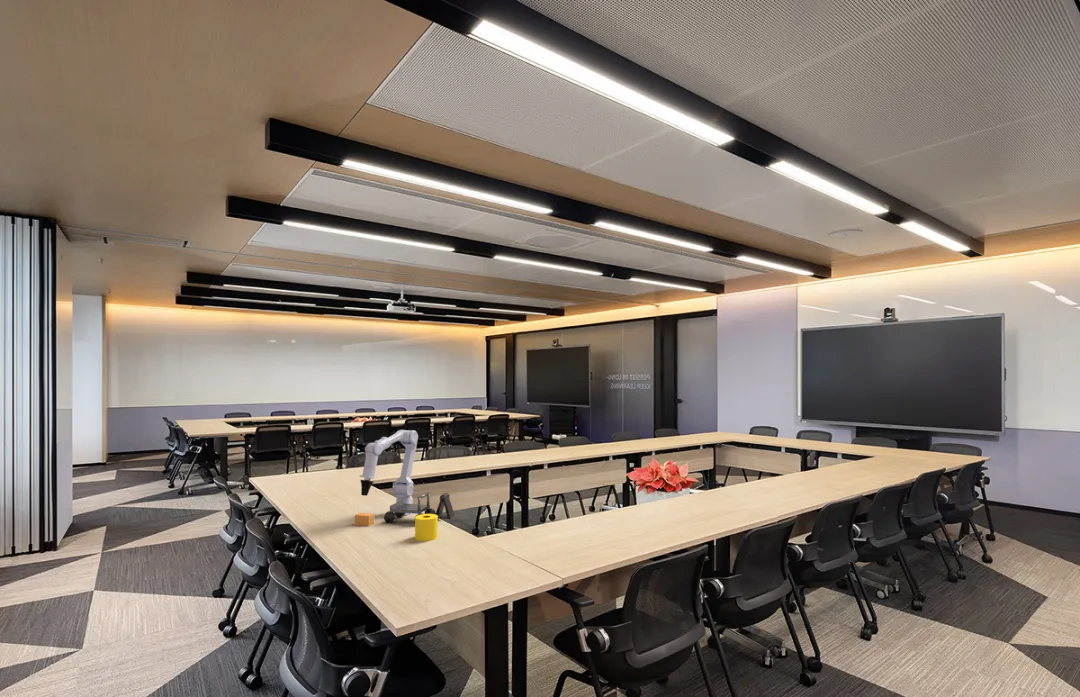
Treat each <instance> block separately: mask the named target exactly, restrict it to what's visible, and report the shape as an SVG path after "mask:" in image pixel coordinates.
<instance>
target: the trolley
mask: <svg viewBox="0 0 1080 697" xmlns="http://www.w3.org/2000/svg"><path fill="white" fill-rule="evenodd" d="M430 493H431V492H426V493H424V494H422V495H419V496H417V503H413V504H404V503H403V501H399V502H397V503H396V502H395V503H392V504H391V505H389V510H388V511H386V512H385V513H384V514H383V519H384V520H383V521H384V522H386V523H388V524H391V523H393V522H394V521H395V520H396V517H397V518H403V517H404V516H406V515H405V513H410V514H414V515H415V514H416V515H415V517H416V516H418V515H422V514H435V515H436V510H435V509H433V508H432V507H431V505H430ZM423 498H426V504H421V499H423ZM423 512H424V513H423ZM394 513H395V514H394ZM415 517H414V518H415Z"/></svg>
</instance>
